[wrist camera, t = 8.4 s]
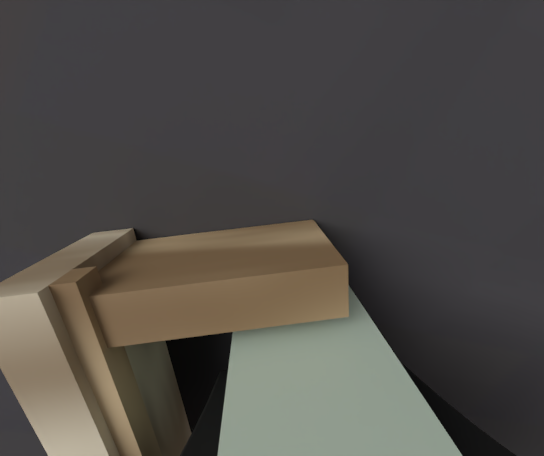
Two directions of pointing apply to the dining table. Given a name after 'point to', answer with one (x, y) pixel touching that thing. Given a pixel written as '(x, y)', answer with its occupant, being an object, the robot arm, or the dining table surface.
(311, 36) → the dining table surface
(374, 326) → the cabinet block
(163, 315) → the l-shaped wooden block
